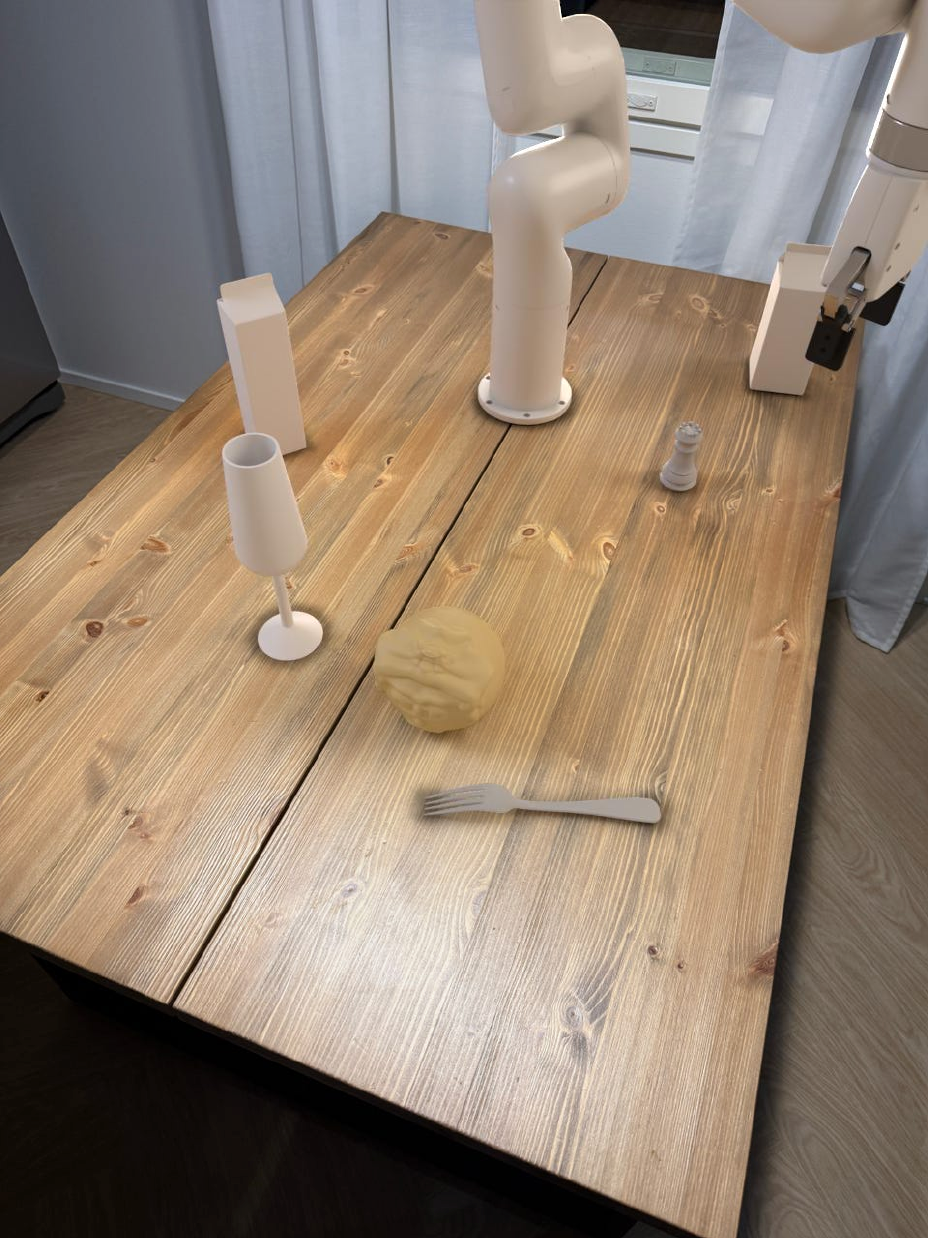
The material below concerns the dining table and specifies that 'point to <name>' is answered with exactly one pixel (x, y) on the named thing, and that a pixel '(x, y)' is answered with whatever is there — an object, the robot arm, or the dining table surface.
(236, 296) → the milk
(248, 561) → the champagne flute
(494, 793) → the fork
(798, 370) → the milk carton
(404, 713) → the yellow dough ball
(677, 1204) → the dining table surface
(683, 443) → the rook chess piece
